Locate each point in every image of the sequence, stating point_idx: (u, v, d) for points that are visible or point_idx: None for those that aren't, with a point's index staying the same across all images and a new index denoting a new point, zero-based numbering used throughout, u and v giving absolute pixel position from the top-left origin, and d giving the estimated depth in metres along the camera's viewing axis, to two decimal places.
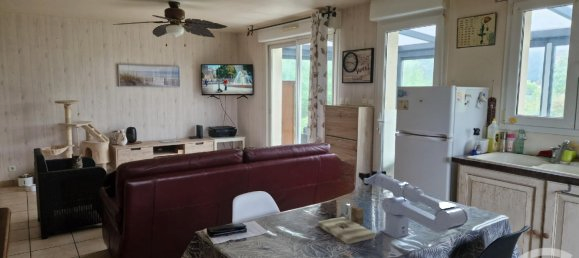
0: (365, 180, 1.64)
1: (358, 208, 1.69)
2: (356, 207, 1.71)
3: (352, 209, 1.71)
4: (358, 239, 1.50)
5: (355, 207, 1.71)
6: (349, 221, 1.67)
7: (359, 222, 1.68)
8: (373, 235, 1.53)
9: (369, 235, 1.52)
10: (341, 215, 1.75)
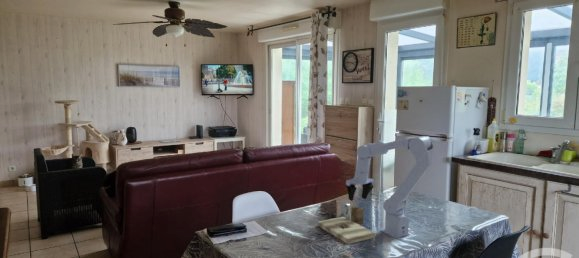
0: (347, 182, 1.65)
1: (358, 208, 1.69)
2: (356, 207, 1.71)
3: (352, 209, 1.71)
4: (358, 239, 1.50)
5: (355, 207, 1.71)
6: (349, 221, 1.67)
7: (359, 222, 1.68)
8: (373, 235, 1.53)
9: (369, 235, 1.52)
10: (341, 215, 1.75)
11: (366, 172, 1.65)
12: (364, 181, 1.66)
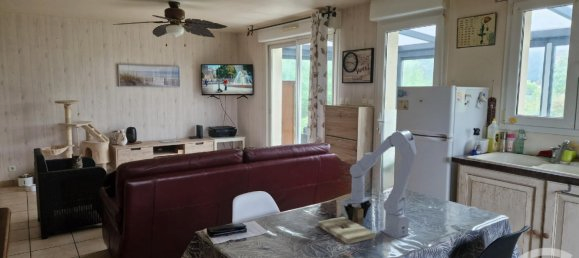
0: (344, 202, 1.66)
1: (358, 208, 1.69)
2: (356, 207, 1.71)
3: None
4: (358, 239, 1.50)
5: (355, 207, 1.71)
6: (349, 221, 1.67)
7: (359, 222, 1.68)
8: (373, 235, 1.53)
9: (369, 235, 1.52)
10: (341, 215, 1.75)
11: (362, 190, 1.67)
12: (361, 199, 1.67)
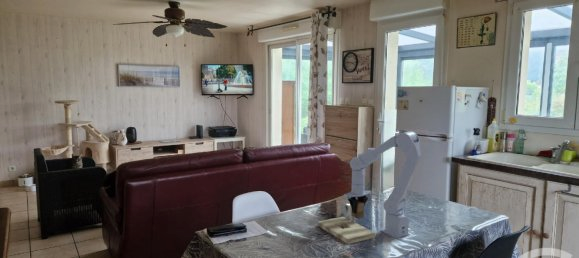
0: (344, 196, 1.66)
1: (358, 202, 1.69)
2: None
3: None
4: (358, 239, 1.50)
5: None
6: (349, 221, 1.67)
7: (360, 216, 1.68)
8: (373, 235, 1.53)
9: (369, 235, 1.52)
10: (341, 215, 1.75)
11: (362, 183, 1.66)
12: (361, 193, 1.67)
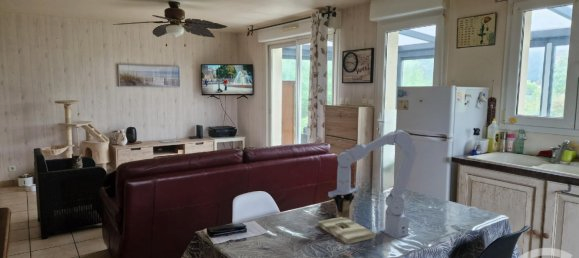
0: (329, 194, 1.57)
1: (344, 200, 1.60)
2: None
3: None
4: (358, 239, 1.50)
5: None
6: (349, 221, 1.67)
7: (345, 215, 1.59)
8: (373, 235, 1.53)
9: (369, 235, 1.52)
10: None
11: (350, 180, 1.58)
12: (347, 191, 1.57)
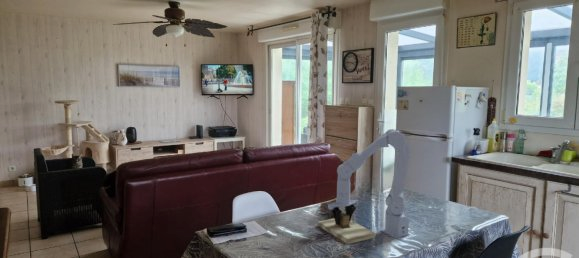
0: (329, 206, 1.57)
1: (344, 214, 1.61)
2: (342, 213, 1.62)
3: None
4: (358, 239, 1.50)
5: (341, 213, 1.62)
6: None
7: None
8: (373, 235, 1.53)
9: (369, 235, 1.52)
10: None
11: (349, 192, 1.59)
12: (347, 203, 1.58)
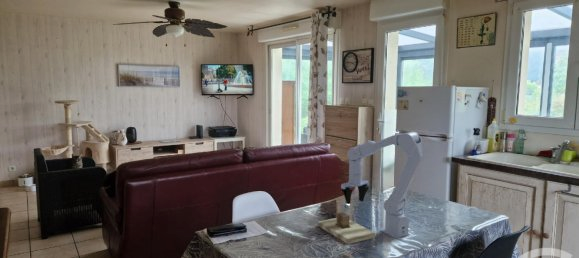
0: (342, 186, 1.66)
1: (344, 214, 1.61)
2: (342, 213, 1.62)
3: (338, 215, 1.62)
4: (358, 239, 1.50)
5: (341, 213, 1.62)
6: (349, 221, 1.67)
7: None
8: (373, 235, 1.53)
9: (369, 235, 1.52)
10: None
11: (359, 173, 1.67)
12: (359, 183, 1.67)
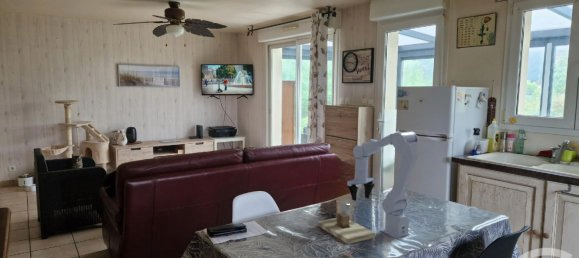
0: (348, 183, 1.71)
1: (344, 214, 1.61)
2: (342, 213, 1.62)
3: (338, 215, 1.62)
4: (358, 239, 1.50)
5: (341, 213, 1.62)
6: (349, 221, 1.67)
7: None
8: (373, 235, 1.53)
9: (369, 235, 1.52)
10: None
11: (364, 171, 1.71)
12: (364, 180, 1.72)
